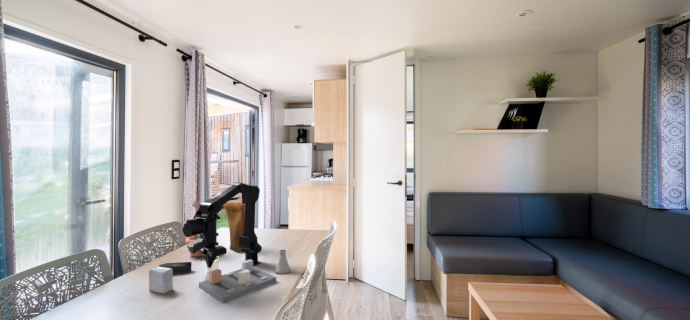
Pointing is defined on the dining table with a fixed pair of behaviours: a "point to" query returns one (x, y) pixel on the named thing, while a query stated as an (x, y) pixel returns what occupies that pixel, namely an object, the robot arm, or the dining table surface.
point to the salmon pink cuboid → (215, 276)
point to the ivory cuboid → (244, 277)
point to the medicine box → (160, 280)
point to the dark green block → (178, 267)
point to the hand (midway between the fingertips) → (209, 267)
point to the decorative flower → (192, 238)
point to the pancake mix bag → (235, 223)
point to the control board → (236, 285)
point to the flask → (282, 263)
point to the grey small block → (247, 265)
